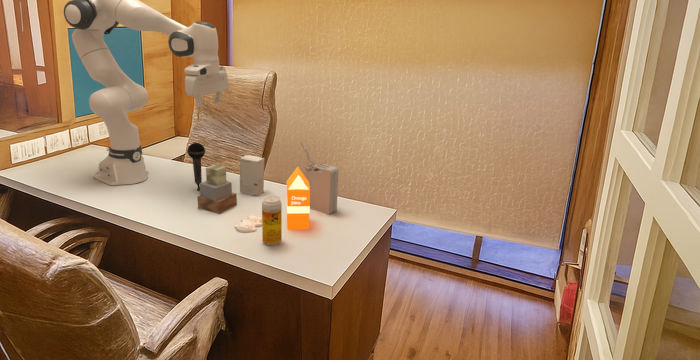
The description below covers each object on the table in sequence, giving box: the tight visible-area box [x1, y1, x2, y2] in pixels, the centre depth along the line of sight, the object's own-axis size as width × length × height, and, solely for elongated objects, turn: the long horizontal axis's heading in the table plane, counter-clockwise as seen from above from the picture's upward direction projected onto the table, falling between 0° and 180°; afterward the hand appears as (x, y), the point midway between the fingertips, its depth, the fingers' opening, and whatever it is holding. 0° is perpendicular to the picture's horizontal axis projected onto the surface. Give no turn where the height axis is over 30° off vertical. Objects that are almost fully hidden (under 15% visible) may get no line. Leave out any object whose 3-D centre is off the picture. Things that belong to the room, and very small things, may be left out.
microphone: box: [186, 142, 206, 192], centre depth 189 cm, size 7×7×20 cm
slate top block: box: [199, 180, 233, 201], centre depth 175 cm, size 8×8×5 cm
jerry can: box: [300, 141, 339, 215], centre depth 178 cm, size 15×5×25 cm, turn 54°
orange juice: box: [285, 166, 311, 230], centre depth 164 cm, size 8×9×20 cm
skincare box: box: [239, 154, 265, 197], centre depth 191 cm, size 8×6×15 cm
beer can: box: [261, 195, 283, 247], centre depth 151 cm, size 6×6×15 cm
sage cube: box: [205, 163, 227, 186], centre depth 174 cm, size 5×5×6 cm
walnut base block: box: [196, 192, 238, 215], centre depth 177 cm, size 10×10×5 cm
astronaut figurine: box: [234, 214, 262, 234], centre depth 164 cm, size 9×12×3 cm
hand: (209, 105), depth 181 cm, fingers open, 8 cm apart
